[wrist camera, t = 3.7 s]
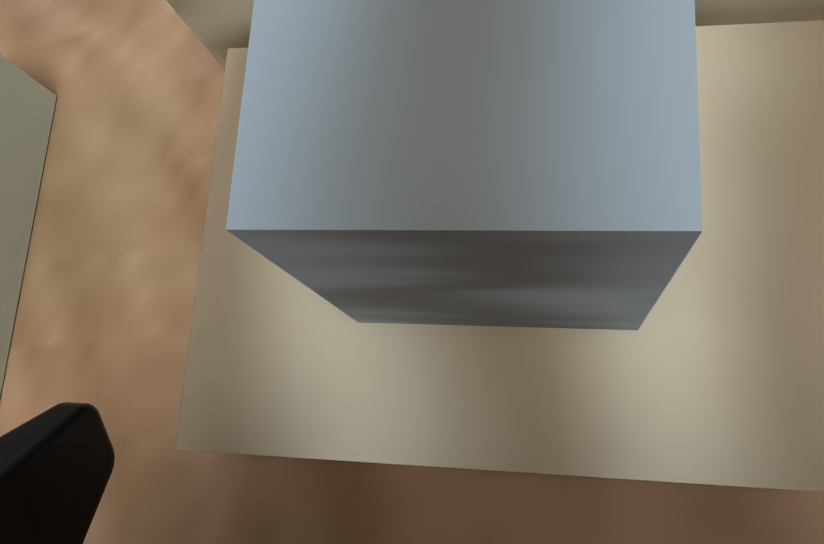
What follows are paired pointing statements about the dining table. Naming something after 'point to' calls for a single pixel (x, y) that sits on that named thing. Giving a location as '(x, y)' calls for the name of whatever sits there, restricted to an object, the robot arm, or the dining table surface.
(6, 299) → the pad
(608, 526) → the dining table surface
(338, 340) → the beige stepped piece
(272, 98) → the slate block
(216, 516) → the dining table surface
